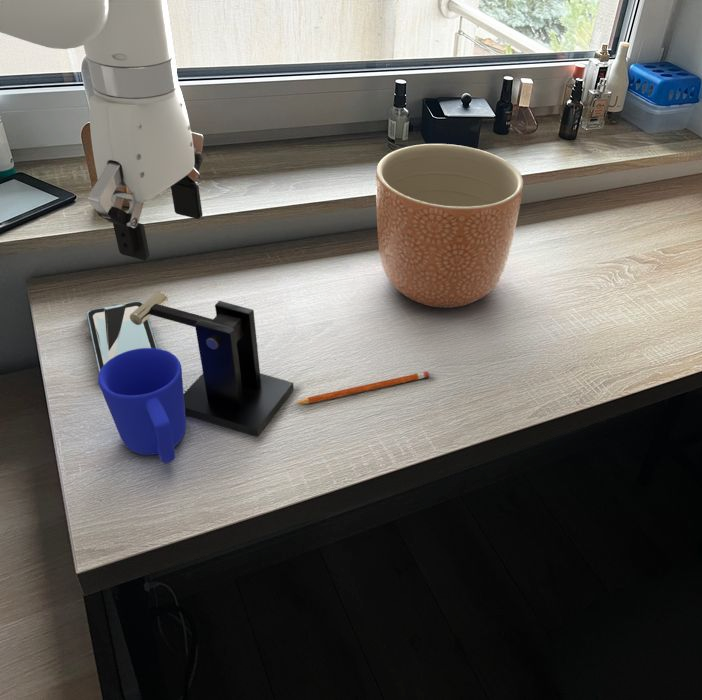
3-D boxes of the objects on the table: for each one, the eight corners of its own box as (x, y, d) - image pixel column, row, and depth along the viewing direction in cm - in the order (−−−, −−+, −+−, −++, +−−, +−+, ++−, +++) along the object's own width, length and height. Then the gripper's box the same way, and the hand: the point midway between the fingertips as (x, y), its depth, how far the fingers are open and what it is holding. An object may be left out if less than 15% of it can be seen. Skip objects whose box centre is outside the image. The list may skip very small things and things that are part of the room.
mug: (136, 498, 76) (117, 431, 70) (109, 426, 84) (89, 360, 77) (214, 470, 80) (202, 404, 74) (181, 404, 88) (168, 339, 81)
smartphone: (99, 380, 88) (85, 310, 98) (101, 385, 89) (86, 315, 99) (163, 365, 91) (143, 299, 101) (164, 371, 92) (144, 305, 102)
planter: (364, 254, 118) (366, 143, 107) (485, 248, 124) (500, 142, 112) (385, 330, 103) (390, 210, 91) (523, 320, 108) (543, 206, 96)
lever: (131, 326, 83) (127, 309, 81) (158, 303, 87) (154, 286, 85) (226, 353, 81) (224, 336, 79) (249, 328, 85) (247, 312, 83)
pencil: (429, 378, 96) (429, 374, 95) (295, 407, 89) (294, 403, 88) (426, 374, 96) (427, 370, 96) (293, 403, 89) (293, 399, 89)
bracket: (174, 411, 86) (156, 326, 79) (216, 367, 93) (203, 284, 85) (257, 436, 85) (248, 352, 77) (293, 389, 92) (288, 307, 84)
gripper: (155, 45, 75) (178, 195, 86) (32, 95, 62) (78, 265, 72) (220, 58, 74) (236, 208, 85) (109, 112, 61) (144, 282, 71)
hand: (163, 234), depth 78 cm, fingers open, 9 cm apart
